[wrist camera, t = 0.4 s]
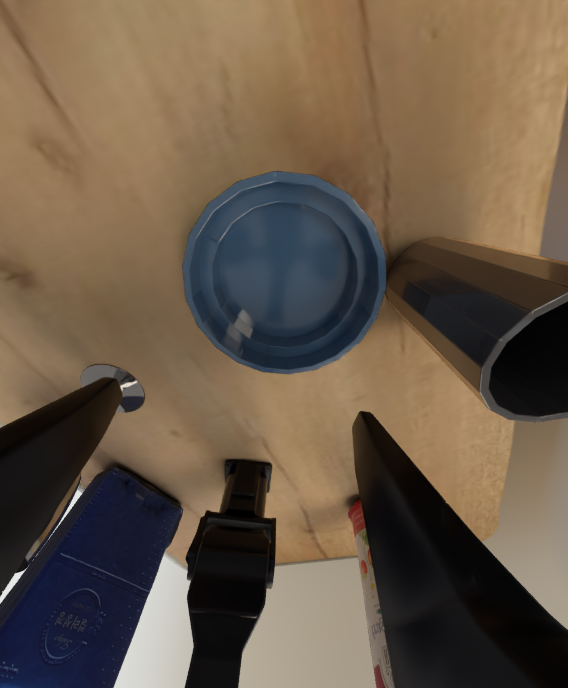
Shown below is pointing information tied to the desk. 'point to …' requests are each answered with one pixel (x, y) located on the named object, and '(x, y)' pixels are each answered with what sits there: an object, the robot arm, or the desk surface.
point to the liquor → (371, 601)
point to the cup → (490, 321)
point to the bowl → (284, 272)
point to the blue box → (87, 587)
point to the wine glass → (129, 403)
